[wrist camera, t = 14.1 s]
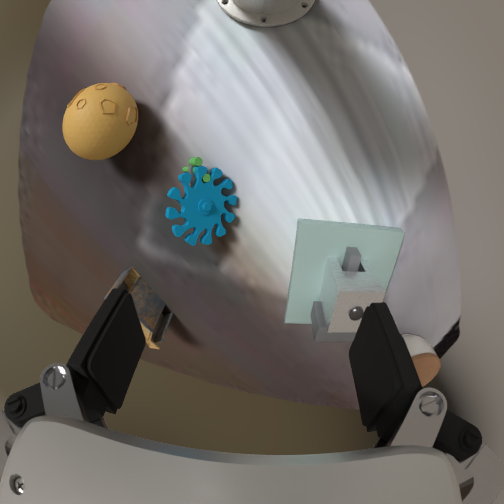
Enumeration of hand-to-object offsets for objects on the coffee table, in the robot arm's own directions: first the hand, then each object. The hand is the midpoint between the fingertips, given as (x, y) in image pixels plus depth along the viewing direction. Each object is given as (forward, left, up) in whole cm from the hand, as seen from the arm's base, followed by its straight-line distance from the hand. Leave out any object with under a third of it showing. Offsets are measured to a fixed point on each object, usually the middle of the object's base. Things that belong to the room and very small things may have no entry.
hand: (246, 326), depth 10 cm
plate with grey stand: (+16, +13, -28) cm, 34 cm away
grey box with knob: (+15, +13, -26) cm, 33 cm away
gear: (+4, -7, -28) cm, 29 cm away
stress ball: (-7, -20, -28) cm, 35 cm away
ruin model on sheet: (+22, -18, -28) cm, 40 cm away
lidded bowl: (+33, +31, -28) cm, 53 cm away
